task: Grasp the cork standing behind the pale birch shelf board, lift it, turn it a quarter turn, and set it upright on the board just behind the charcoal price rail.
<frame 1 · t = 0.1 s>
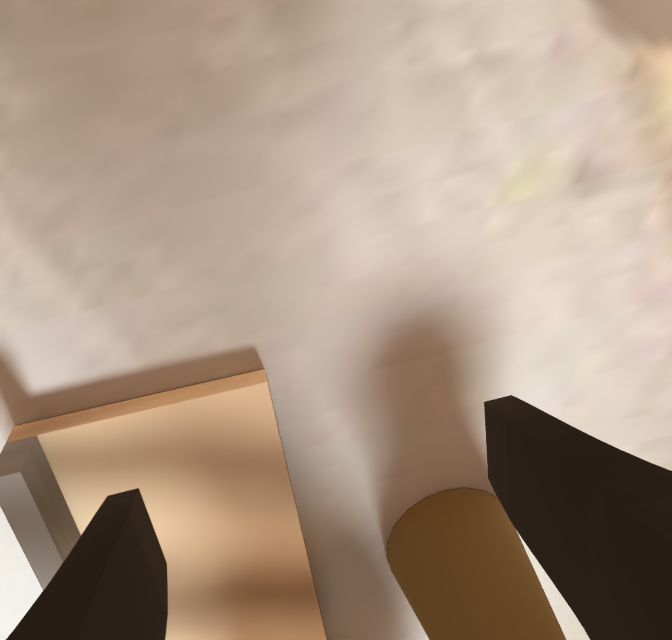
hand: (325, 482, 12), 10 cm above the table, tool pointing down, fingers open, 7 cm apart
shelf board: (208, 589, 26), on the table
cork: (447, 537, 28), on the table
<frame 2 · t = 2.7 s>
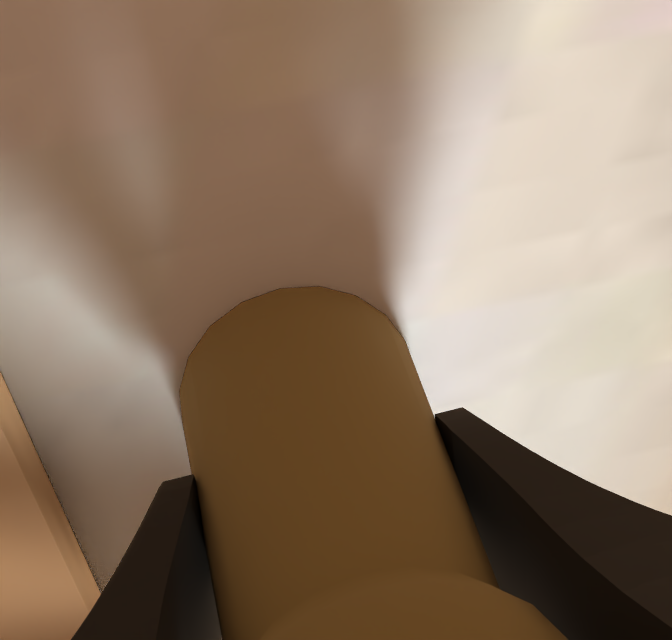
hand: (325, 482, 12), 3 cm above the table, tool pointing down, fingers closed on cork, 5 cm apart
cork: (299, 393, 16), on the table, touching gripper
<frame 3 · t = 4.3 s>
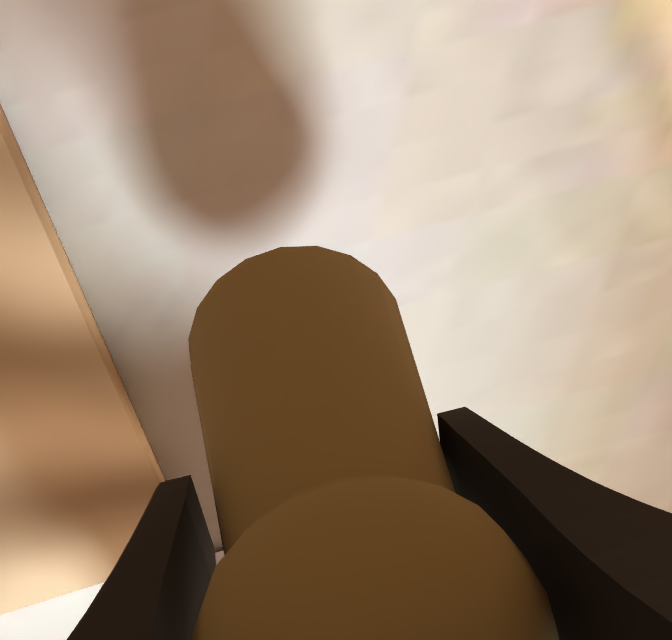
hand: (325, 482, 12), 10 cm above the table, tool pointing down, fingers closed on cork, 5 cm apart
cork: (298, 344, 17), point 5 cm above the table, touching gripper
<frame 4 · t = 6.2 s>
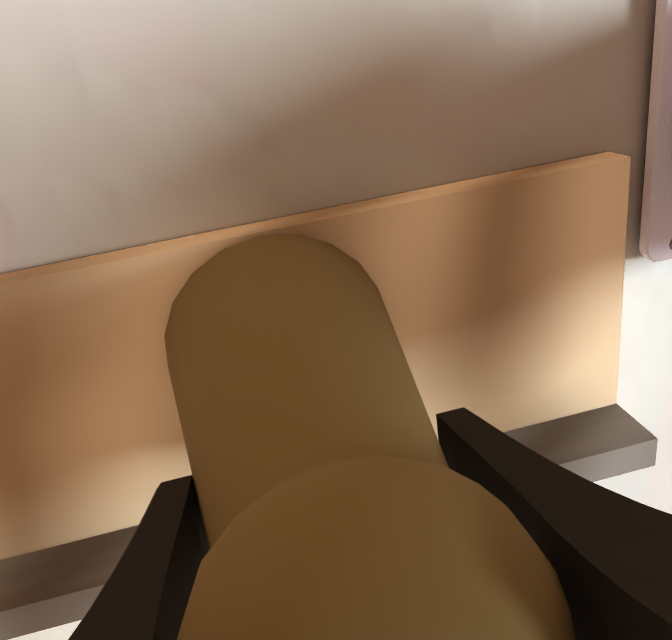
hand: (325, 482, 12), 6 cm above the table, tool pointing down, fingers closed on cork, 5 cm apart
shelf board: (293, 366, 18), on the table
cork: (279, 338, 16), point 1 cm above the table, touching gripper, shelf board
when the fingers open (5 cm above the table, at t = 6.9 s): cork stays where it is, resting on shelf board.
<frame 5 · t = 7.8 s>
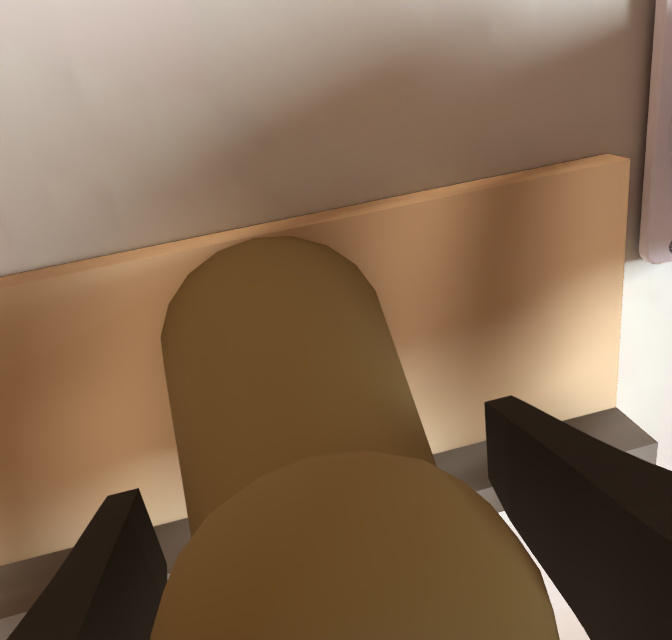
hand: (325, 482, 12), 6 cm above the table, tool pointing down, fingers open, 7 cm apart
shelf board: (291, 370, 18), on the table
cork: (276, 341, 16), point 1 cm above the table, touching shelf board
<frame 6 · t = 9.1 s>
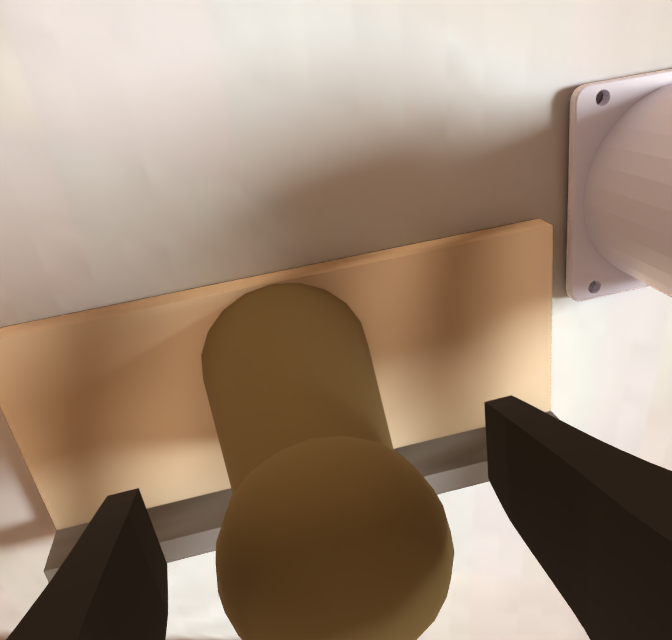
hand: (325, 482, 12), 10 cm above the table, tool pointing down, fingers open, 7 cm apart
shelf board: (297, 380, 23), on the table
cork: (286, 358, 22), point 1 cm above the table, touching shelf board
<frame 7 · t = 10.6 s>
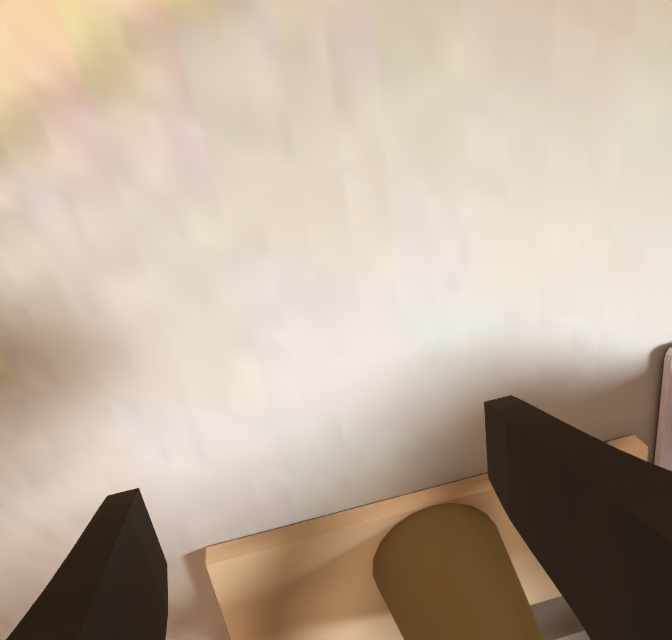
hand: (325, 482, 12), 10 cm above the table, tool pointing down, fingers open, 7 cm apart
shelf board: (437, 561, 29), on the table
cork: (435, 553, 27), point 1 cm above the table, touching shelf board
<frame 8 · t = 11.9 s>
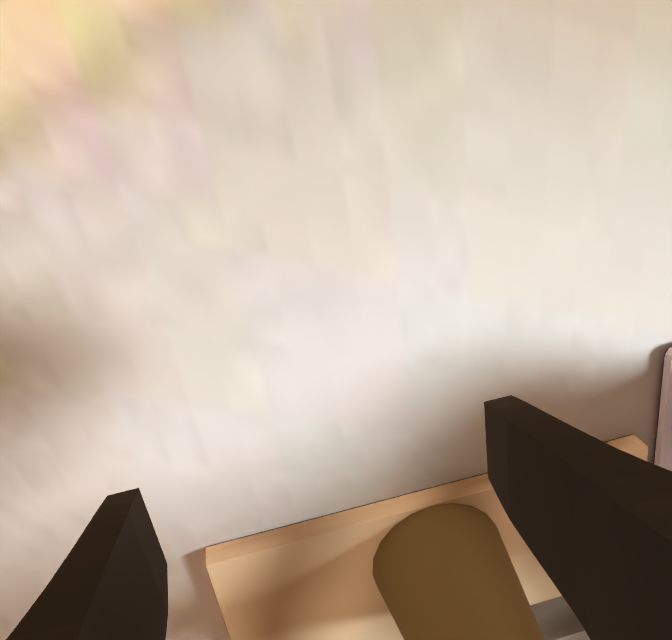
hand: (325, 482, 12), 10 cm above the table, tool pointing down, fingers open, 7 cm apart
shelf board: (437, 561, 29), on the table
cork: (435, 553, 27), point 1 cm above the table, touching shelf board
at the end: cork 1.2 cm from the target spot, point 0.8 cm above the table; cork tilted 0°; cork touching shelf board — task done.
